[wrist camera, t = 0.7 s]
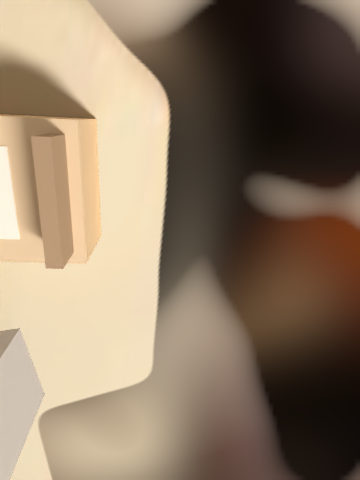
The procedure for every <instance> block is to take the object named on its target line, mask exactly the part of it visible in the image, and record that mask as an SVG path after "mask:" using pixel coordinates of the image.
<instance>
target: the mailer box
mask: <svg viewBox="0 0 360 480" xmlns="http://www.w3.org/2000/svg"><path fill="white" fill-rule="evenodd" d="M0 116H14V117H34V118H54V119H74V120H79V124H80V141H81V157H82V174H83V190H84V207H85V224H86V240H87V257H88V259H89V257H90V255H91V254H92V252H93V250H94V248H95V246H96V244H97V242H98V240H99V239H100V237H101V218H100V194H99V170H98V147H97V123H96V119H88V118H68V117H48V116H28V115H8V114H0Z"/></svg>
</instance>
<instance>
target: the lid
mask: <svg viewBox="0 0 360 480" xmlns="http://www.w3.org/2000/svg"><path fill="white" fill-rule="evenodd" d="M87 261H88V257H87V240H86V224H85V207H84V190H83V174H82V157H81V141H80V124H79V120H74V119H54V118H34V117H14V116H0V262H37V263H45V265H46V268H55V269H63V268H64V266H65V265H66V263H78V264H86V263H87Z"/></svg>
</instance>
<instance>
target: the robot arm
mask: <svg viewBox="0 0 360 480" xmlns="http://www.w3.org/2000/svg"><path fill="white" fill-rule="evenodd" d="M43 397H44V391H43V388H42V386H41V383H40V380H39V378H38V375H37V373H36V370H35V367H34V365H33V362H32V359H31V357H30V354H29V351H28V349H27V346H26V343H25V341H24V338H23V336H22V333H21V330H20V328H19V329H12V330H5V331H0V480H10V478H11V475H12V473H13V470H14V468H15V466H16V463H17V461H18V458H19V456H20V453H21V451H22V448H23V446H24V443H25V441H26V439H27V436H28V434H29V431H30V429H31V426H32V424H33V421H34V419H35V416H36V414H37V411H38V409H39V407H40V404H41V402H42V399H43Z"/></svg>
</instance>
